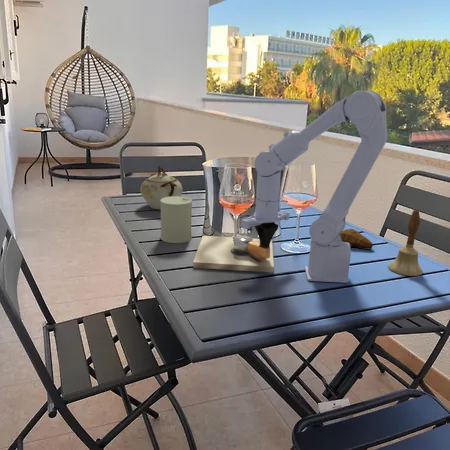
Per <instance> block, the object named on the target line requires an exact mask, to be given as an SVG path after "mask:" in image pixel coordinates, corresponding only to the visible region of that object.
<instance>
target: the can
mask: <svg viewBox="0 0 450 450" xmlns="http://www.w3.org/2000/svg"><path fill="white" fill-rule="evenodd" d="M192 203H193V200H192V198H190V197H186V196H182V195H181V196H170V197H164V198H162V199H161V200H160V204H161V210H160V240H161V241H163V242H165V243H170V244H182V243H188V242H190V241H191V240H192V238H193V237H192V236H193V235H192V214H193V213H192V211H193V210H192V207H193V206H192V205H193V204H192Z"/></svg>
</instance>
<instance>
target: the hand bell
mask: <svg viewBox="0 0 450 450" xmlns="http://www.w3.org/2000/svg"><path fill="white" fill-rule="evenodd" d="M420 223H421V217H420V210H419V209H413V211H412V213H411V215H410V216H409V219H408V224H407V230H408V234H407V235H408V236H407V241H406V245H405V246H404V247H402V246H401V247H400V248H399V250H398V253H397V256H396V258H395V259H394V260H393V261H392V262H390V263H389V265H388V269H389V270H390V271H391V272H394V273H395V274H398V275H402V276H407V277H419V276H421V275H422V274H423V269H422V268H421V266H420V264H419V251H418V250H417V249H415V248H414V245H415V237H416V233H417V232H418V230H419V228H420Z"/></svg>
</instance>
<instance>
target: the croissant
mask: <svg viewBox="0 0 450 450" xmlns="http://www.w3.org/2000/svg"><path fill="white" fill-rule="evenodd" d="M339 234H340V236H341V240H342V242H348V243H349V244H350V247H354V248H358V249H364V250H371V249H372V248H373V246H374V245H373V244H374V243H373V242H371V240H370V239H368V238H367V236H364V235H363V234H361V232H360V231H357V230H355V229H353V228H348V229H345V230H344V229H343V231H342V232H341V233H339Z"/></svg>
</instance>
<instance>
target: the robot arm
mask: <svg viewBox="0 0 450 450" xmlns="http://www.w3.org/2000/svg"><path fill="white" fill-rule="evenodd" d="M349 121H350V122H351V123H352V124H353V125H354V126H355V127H356V130H357V132H358V133H359V136H360V140H361V141H360V143H359V145H358V146H357V149H356V150H355V153H354V154H353V156H352V158H351V160H350V162H349V164H348V166H347V167H346V170H345V172H344V174H343V175H342V177H341V179H340V181H339V183H338V185H336V186H337V187H336V189H335V190H334V192H333V194H332V196H331V198H330V200H329V202H328V204H327V205H326V207H325V208H324V209H323V211H322V212H321V214H320V216H319V217H318V218H317V219H315V220H314V221H312V223H311V224H310V226H309V232H308V233H309V236H310V248H309V258H308V265H305V266H304V270H305V275H306V279H307V280H308V281H309V282H310V281H311V282H325V283H342V284H343V283H344V284H348V283H349V280H348V279H349V273H350V272H349V271H350V263H351V256H352V255H351V252H352V251H351V249H352V248H351V246H350V244H349V243H348V242H342V240H341V236H340V234H339V233H341V232H342V231H344V229H345V227H346V218H347V216H348V214H349V211H350V208H351V206H352V204H353V202H354V201H355V199H356V198H357V195H358V194H359V192H360V190H361V189H362V187H363V185H364V183H365V181H366V180H367V178H368V176H369V175H370V172H371V170H372V169H373V167H374V165H375V162H376V161H377V159H378V157H380V154H381V152H382V151H383V149H384V146H385V145H386V143H387V141H388V125H387V123H388V122H387V106H386V104H385V102H384V100H383V98H382V96H381V95H380V94H379V93H378V92H376V91H374V90H357V91H355V92H353V93H351V94H350V95H349V96H348V97H345V98H342V99H341V100H340V101H338V102H337V103H335V104H334V105H332V106H331V107H329V108H328V109H327V110H325V111H324V112H323V113H322V114H321V115H319V116H318V117H316V119H315V120H313V121H312V122H311V123H310V124H308V125H307V126H305V128H303V129H302V130H296V129H295V130H292V131H290V130H288V131H286V132H284V133H283V136H284V137H282V138H281V139H280V140H278V141H277V142H276V143H275V144H274V143H271V144H270V145H269V146H268V150H267V151H266V150H264V151H261V152H259V153H258V155H256V156H255V159H254V164H253V166H254V169H255V171H256V173H257V176H256V177H257V178H256V192H255V193H256V196H255V210H254V211H255V212H253V215H251V216H248V217H246V218H243V219H241V228H243V229H246V230H247V229H250V228H252V227H254V229H255V230H256V231H255V232H256V233H257V235H258V239H260V244H262V245H265V246H268V247H270V242H271V239H272V240H273V238H274V235H275V234H276V232H277V231H278V229H279V224H278V223H275V222H280V221H283V220H285V221H288V220H290V212H289V211H287V210H281V211H279V204H280V195H281V194H280V190H281V175H282V173H281V172H282V170H284V168H285V166H287V165H289V164H290V163H292V162H293V161H295V160H296V159H297V158H299V157H300V156H301V155H303V154H304V153H306V152H307V151H308V150H309V146H310V145H309V144H310V143H311V141H313V140H315V139H317V138H318V137H320V136H321V135H322V134H324V132H326V131H328V130H329V129H330V128H332V127H334V126H335V125H337V124H339V123H340V124H341V123H346V122H349Z"/></svg>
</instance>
